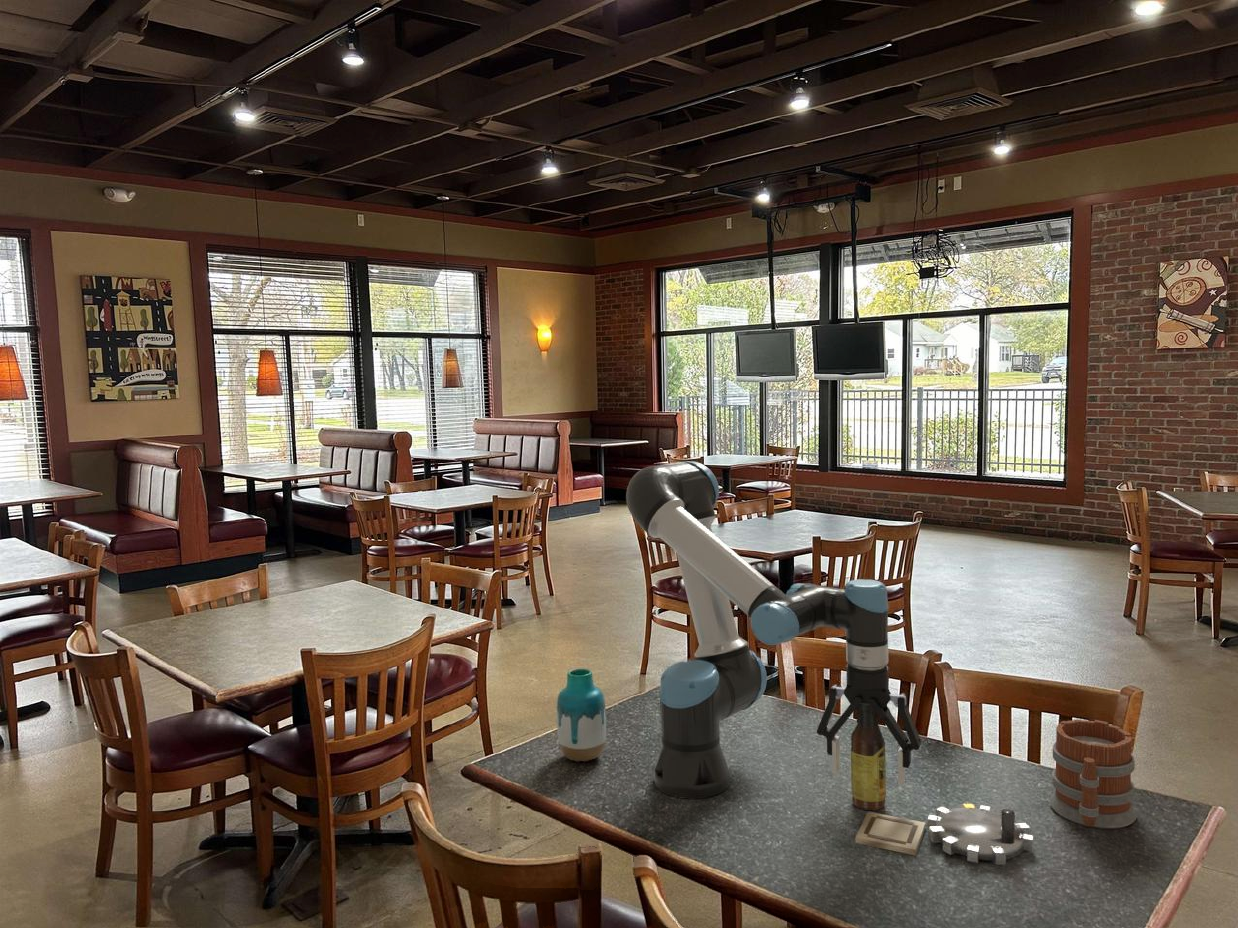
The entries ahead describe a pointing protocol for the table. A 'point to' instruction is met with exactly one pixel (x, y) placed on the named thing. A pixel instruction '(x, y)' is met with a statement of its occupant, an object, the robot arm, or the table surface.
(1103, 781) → the mug
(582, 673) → the vase
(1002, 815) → the sprocket
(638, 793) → the table surface
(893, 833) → the marked pad
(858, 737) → the sauce bottle
